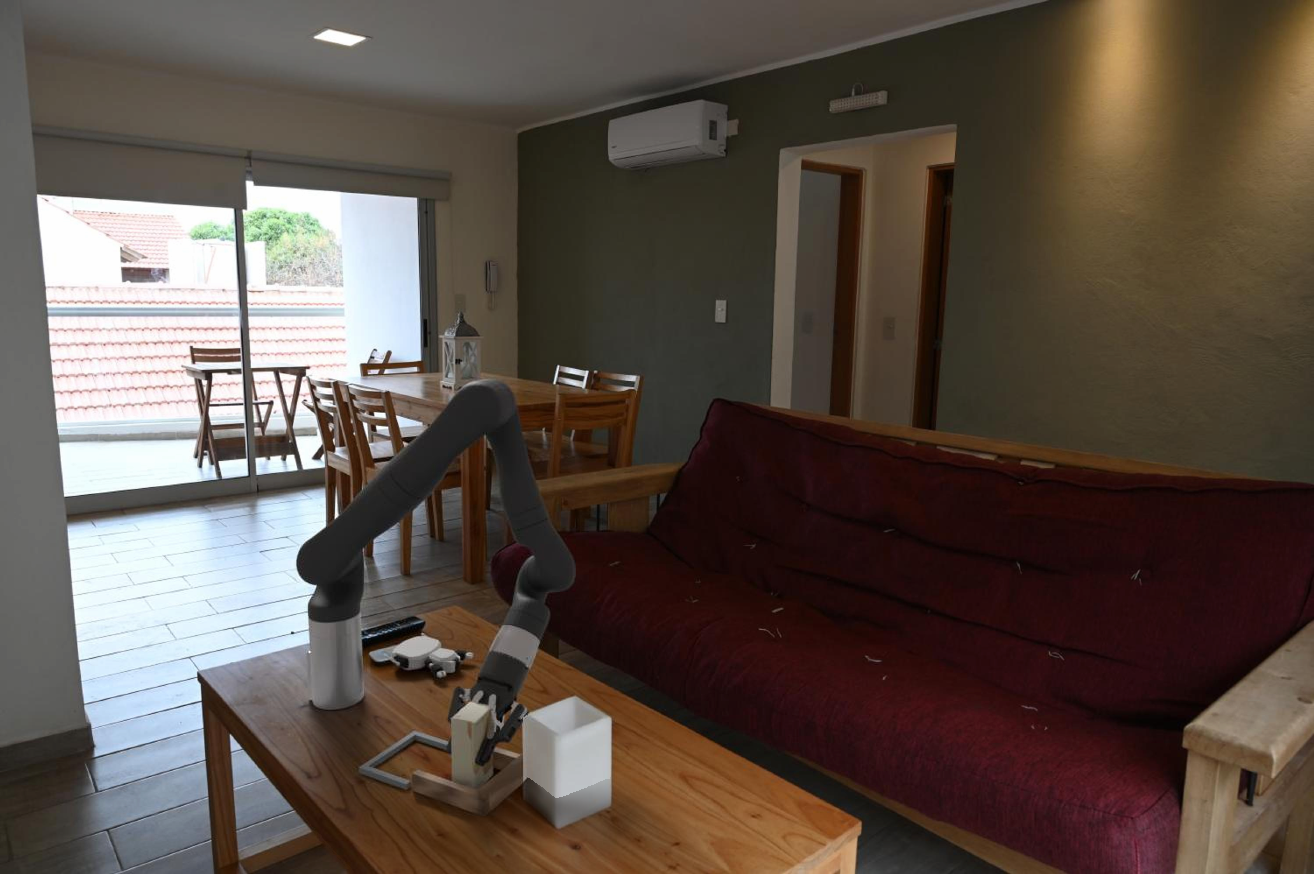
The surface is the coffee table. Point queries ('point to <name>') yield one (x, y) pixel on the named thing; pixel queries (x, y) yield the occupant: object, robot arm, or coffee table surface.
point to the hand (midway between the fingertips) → (465, 759)
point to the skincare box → (470, 745)
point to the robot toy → (427, 656)
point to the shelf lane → (472, 798)
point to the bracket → (384, 776)
